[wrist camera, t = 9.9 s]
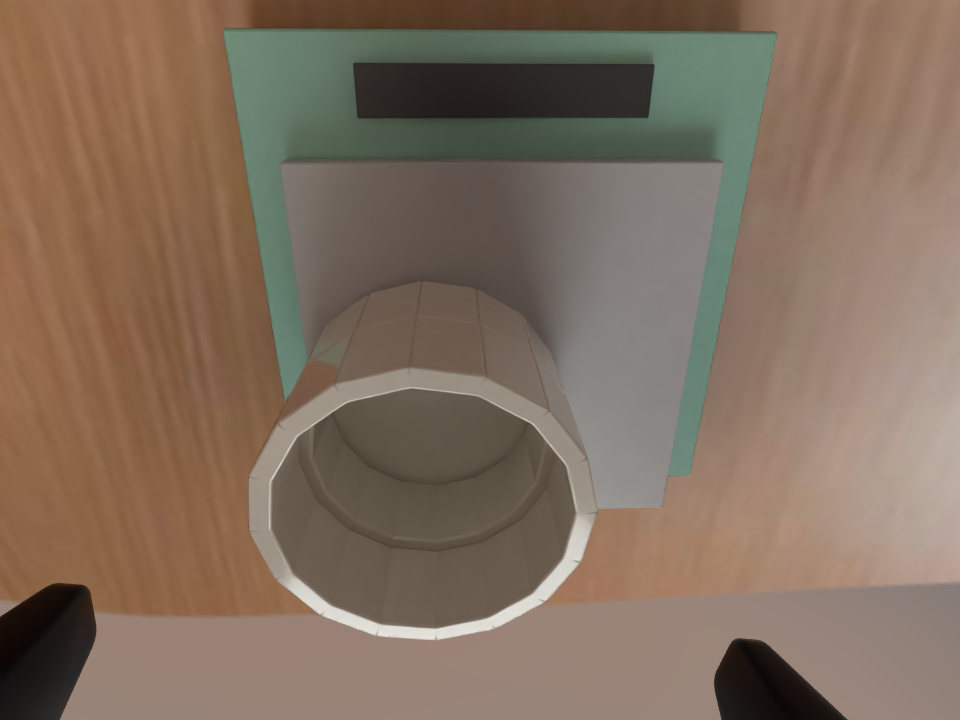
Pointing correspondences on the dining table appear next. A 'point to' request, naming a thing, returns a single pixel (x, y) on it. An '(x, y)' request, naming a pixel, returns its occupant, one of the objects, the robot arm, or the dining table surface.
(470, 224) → the kitchen scale
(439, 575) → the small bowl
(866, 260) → the dining table surface
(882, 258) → the dining table surface
